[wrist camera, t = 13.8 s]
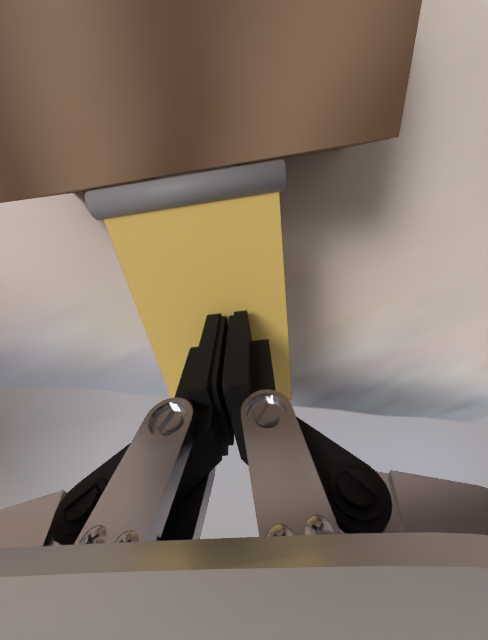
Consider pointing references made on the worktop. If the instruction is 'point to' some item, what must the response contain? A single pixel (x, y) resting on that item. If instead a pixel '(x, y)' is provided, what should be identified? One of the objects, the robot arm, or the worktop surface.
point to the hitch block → (191, 85)
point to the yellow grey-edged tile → (202, 257)
